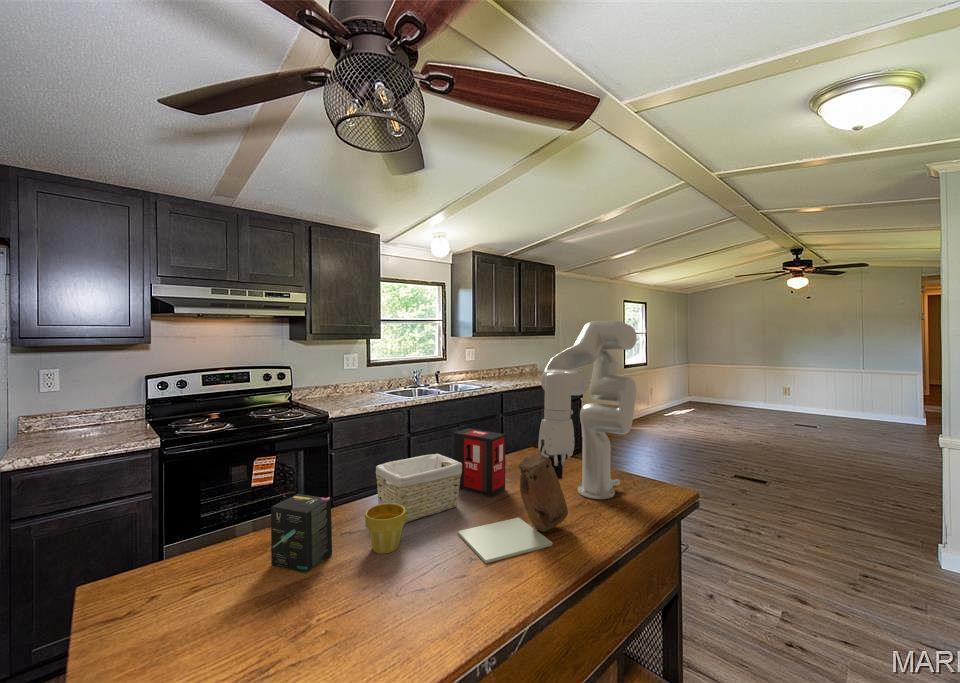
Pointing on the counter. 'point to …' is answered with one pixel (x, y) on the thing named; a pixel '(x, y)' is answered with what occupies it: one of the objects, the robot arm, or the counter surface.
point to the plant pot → (385, 526)
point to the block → (542, 492)
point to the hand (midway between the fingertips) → (556, 477)
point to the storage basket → (420, 484)
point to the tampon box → (301, 532)
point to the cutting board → (503, 539)
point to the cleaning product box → (481, 461)
